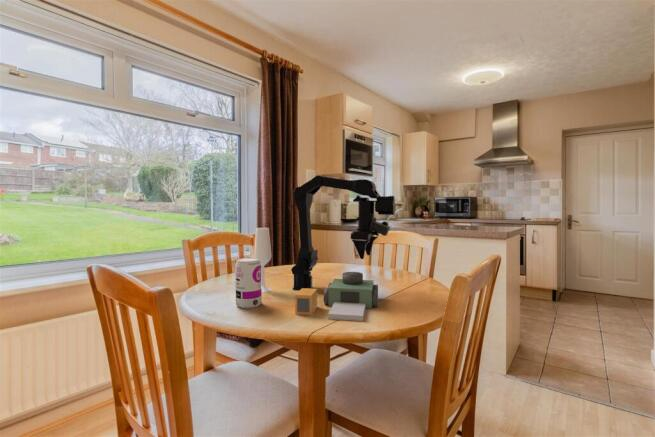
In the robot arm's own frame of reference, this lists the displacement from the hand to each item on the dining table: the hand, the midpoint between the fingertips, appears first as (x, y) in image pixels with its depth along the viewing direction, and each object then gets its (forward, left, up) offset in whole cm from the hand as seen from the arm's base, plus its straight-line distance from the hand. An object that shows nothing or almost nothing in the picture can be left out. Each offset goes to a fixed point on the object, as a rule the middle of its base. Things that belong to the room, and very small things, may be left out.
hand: (365, 257), depth 122 cm
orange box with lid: (-17, -22, -14) cm, 31 cm away
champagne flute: (-39, -2, -14) cm, 41 cm away
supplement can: (-37, -20, -14) cm, 44 cm away
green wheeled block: (-4, -16, -14) cm, 21 cm away
